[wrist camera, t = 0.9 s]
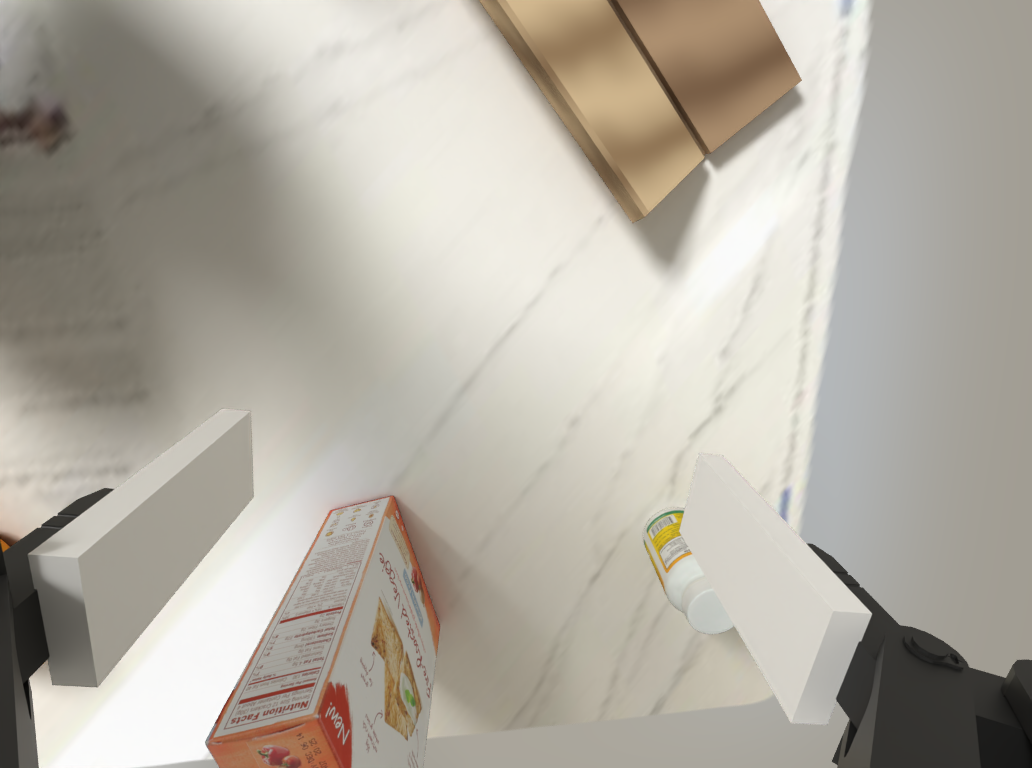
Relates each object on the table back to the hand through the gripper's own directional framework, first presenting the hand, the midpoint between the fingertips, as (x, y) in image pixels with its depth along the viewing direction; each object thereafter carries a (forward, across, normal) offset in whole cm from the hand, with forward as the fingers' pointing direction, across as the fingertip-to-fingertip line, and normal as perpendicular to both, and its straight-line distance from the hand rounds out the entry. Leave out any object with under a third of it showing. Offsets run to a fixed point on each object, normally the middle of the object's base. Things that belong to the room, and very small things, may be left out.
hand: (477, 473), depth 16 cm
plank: (+23, +3, +18) cm, 29 cm away
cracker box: (+25, -6, -23) cm, 35 cm away
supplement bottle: (+25, +18, -17) cm, 35 cm away
